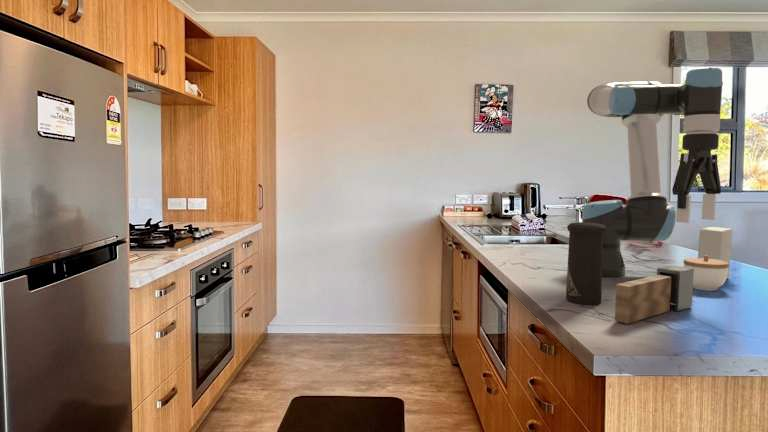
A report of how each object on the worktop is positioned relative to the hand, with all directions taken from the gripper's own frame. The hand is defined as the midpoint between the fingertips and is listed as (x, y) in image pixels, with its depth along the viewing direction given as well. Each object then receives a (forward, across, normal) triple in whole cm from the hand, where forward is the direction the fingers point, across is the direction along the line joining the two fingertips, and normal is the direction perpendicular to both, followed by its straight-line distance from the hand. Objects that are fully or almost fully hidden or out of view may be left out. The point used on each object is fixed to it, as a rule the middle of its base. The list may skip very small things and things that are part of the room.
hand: (695, 221), depth 125 cm
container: (+21, +22, -16) cm, 34 cm away
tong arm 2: (+20, +23, +1) cm, 31 cm away
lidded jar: (+21, -19, -5) cm, 29 cm away
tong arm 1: (+20, +23, 0) cm, 31 cm away
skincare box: (+21, -36, -10) cm, 42 cm away
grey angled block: (+20, +9, 0) cm, 22 cm away
